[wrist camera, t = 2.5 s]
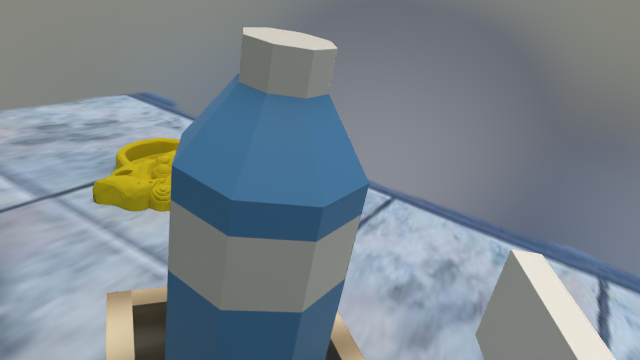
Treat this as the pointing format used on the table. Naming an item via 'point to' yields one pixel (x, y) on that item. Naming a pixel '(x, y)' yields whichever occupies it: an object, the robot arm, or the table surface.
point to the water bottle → (263, 210)
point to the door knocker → (140, 176)
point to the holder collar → (150, 328)
